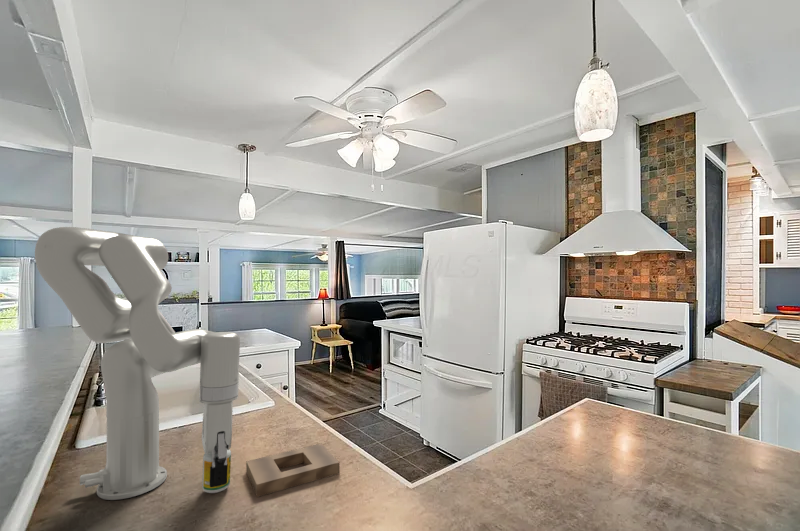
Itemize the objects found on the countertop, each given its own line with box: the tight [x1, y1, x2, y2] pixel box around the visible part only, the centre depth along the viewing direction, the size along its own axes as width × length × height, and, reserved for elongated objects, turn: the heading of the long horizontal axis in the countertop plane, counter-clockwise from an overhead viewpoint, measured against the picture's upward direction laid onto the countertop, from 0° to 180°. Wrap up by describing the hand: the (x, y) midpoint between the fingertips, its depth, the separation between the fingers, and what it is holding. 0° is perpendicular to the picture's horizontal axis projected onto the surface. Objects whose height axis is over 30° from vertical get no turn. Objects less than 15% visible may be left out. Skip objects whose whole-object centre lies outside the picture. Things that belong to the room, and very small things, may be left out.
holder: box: [245, 442, 341, 498], centre depth 90 cm, size 18×12×2 cm, turn 121°
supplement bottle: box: [201, 447, 232, 494], centre depth 83 cm, size 5×5×10 cm
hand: (216, 477), depth 83 cm, fingers closed on supplement bottle, 5 cm apart
